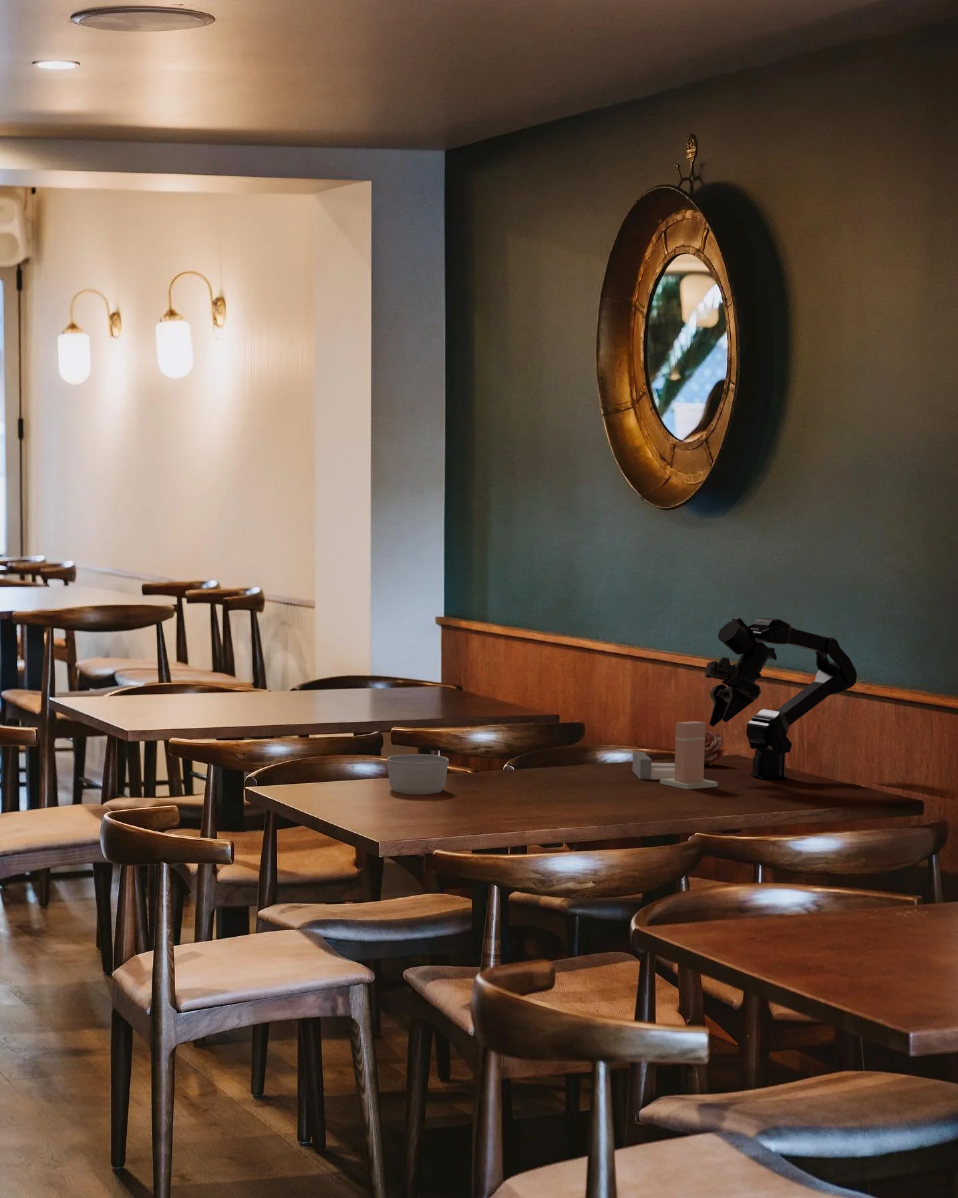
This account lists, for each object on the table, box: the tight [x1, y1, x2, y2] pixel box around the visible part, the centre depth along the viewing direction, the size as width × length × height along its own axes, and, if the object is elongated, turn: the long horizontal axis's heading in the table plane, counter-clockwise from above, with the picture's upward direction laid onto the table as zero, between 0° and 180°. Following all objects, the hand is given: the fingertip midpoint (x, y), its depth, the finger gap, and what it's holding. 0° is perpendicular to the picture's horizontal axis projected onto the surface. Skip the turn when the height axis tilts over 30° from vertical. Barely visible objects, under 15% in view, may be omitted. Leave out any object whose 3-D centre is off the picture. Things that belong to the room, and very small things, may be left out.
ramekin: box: [386, 753, 450, 795], centre depth 345 cm, size 13×13×7 cm
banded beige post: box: [674, 720, 706, 783], centre depth 361 cm, size 6×3×13 cm, turn 125°
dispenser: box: [632, 751, 675, 780], centre depth 375 cm, size 12×12×4 cm
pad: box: [659, 778, 719, 790], centre depth 362 cm, size 9×9×1 cm
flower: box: [704, 729, 725, 767], centre depth 394 cm, size 10×9×8 cm
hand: (717, 723), depth 367 cm, fingers open, 9 cm apart
